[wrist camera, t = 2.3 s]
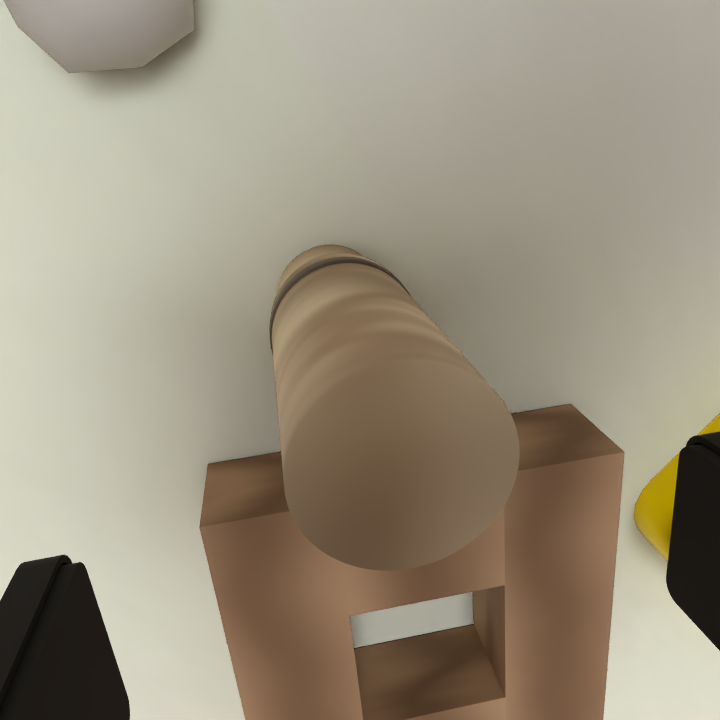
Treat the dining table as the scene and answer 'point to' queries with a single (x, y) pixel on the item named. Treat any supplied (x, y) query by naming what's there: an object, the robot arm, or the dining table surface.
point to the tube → (103, 30)
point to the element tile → (662, 502)
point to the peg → (381, 419)
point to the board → (428, 596)
